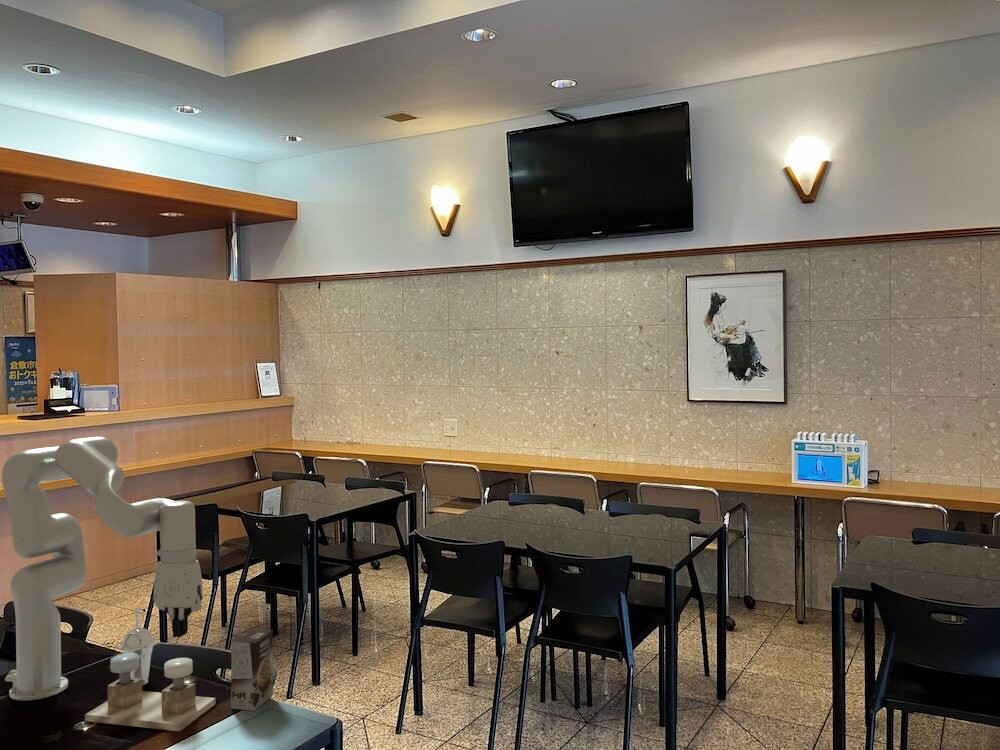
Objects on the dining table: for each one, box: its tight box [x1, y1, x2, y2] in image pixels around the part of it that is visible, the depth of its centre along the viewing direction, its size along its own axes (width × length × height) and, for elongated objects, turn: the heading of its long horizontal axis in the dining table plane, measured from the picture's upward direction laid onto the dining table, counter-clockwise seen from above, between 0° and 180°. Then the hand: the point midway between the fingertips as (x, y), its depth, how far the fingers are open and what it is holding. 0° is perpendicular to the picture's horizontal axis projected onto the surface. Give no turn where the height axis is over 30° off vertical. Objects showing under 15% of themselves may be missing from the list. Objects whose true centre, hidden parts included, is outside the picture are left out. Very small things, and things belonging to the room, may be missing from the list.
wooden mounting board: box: [84, 678, 216, 732], centre depth 183 cm, size 24×14×6 cm, turn 78°
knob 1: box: [110, 653, 139, 685], centre depth 184 cm, size 6×6×8 cm
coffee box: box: [230, 628, 274, 712], centre depth 188 cm, size 9×6×16 cm
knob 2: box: [163, 657, 194, 691], centre depth 181 cm, size 6×6×8 cm
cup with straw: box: [119, 607, 157, 686], centre depth 199 cm, size 8×9×20 cm
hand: (180, 635), depth 181 cm, fingers closed
